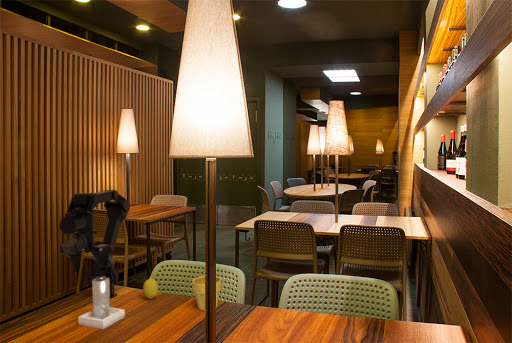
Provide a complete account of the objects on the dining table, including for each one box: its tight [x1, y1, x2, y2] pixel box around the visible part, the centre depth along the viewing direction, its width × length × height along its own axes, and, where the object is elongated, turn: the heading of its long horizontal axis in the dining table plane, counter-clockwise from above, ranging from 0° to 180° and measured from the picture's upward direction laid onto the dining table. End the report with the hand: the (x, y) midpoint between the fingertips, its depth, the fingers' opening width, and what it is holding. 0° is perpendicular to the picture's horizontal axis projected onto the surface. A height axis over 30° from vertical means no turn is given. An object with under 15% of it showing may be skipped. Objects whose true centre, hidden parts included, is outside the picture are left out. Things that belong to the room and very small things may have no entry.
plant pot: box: [191, 275, 223, 311], centre depth 142 cm, size 10×10×10 cm
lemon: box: [142, 277, 159, 300], centre depth 151 cm, size 6×6×8 cm
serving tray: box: [77, 306, 126, 330], centre depth 132 cm, size 10×10×2 cm
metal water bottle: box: [91, 275, 111, 319], centre depth 132 cm, size 5×5×14 cm
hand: (86, 272), depth 142 cm, fingers open, 9 cm apart
